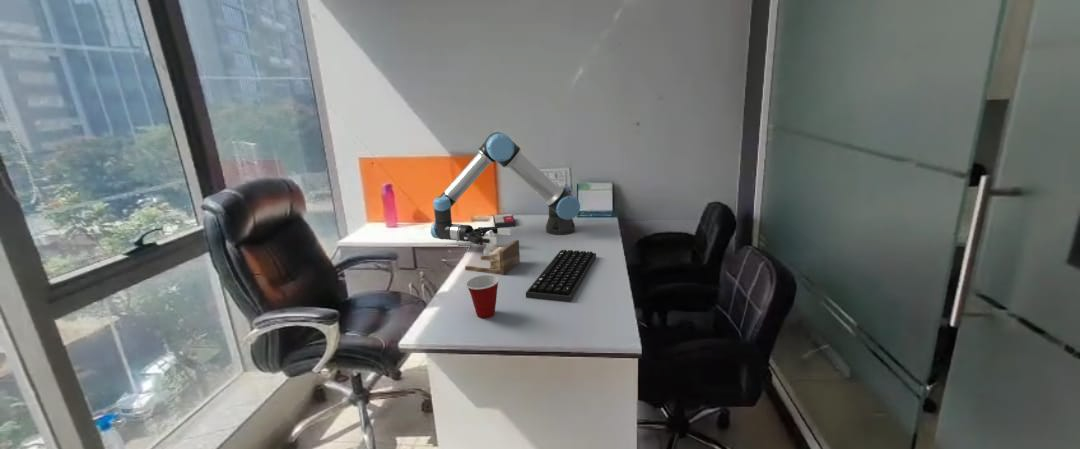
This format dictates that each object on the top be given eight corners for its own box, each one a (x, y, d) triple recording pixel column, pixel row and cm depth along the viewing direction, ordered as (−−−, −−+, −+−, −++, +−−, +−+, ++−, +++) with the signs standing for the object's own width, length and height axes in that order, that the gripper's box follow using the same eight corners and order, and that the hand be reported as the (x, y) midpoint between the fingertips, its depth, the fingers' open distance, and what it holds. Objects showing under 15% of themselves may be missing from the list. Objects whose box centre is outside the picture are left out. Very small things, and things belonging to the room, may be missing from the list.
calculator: (494, 222, 245) (493, 214, 259) (495, 229, 246) (493, 221, 260) (515, 220, 246) (512, 212, 260) (515, 228, 248) (512, 220, 262)
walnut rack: (464, 270, 187) (462, 247, 184) (482, 258, 200) (481, 236, 198) (504, 275, 180) (502, 251, 177) (519, 262, 193) (518, 240, 191)
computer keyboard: (560, 256, 201) (560, 248, 200) (596, 259, 196) (595, 250, 195) (526, 299, 160) (525, 289, 158) (570, 304, 155) (569, 293, 154)
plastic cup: (469, 308, 153) (466, 274, 150) (501, 305, 154) (499, 272, 151) (467, 323, 143) (463, 288, 139) (501, 320, 143) (499, 285, 140)
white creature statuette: (498, 260, 197) (497, 233, 194) (480, 259, 199) (478, 233, 196) (505, 253, 206) (503, 227, 203) (487, 252, 208) (485, 227, 204)
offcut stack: (490, 272, 184) (488, 254, 182) (500, 263, 194) (499, 246, 192) (501, 273, 183) (500, 255, 181) (511, 264, 192) (510, 247, 190)
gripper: (476, 233, 221) (516, 236, 213) (448, 249, 199) (491, 253, 191) (475, 218, 219) (515, 221, 211) (446, 232, 197) (489, 236, 189)
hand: (504, 236), depth 201 cm, fingers open, 13 cm apart
